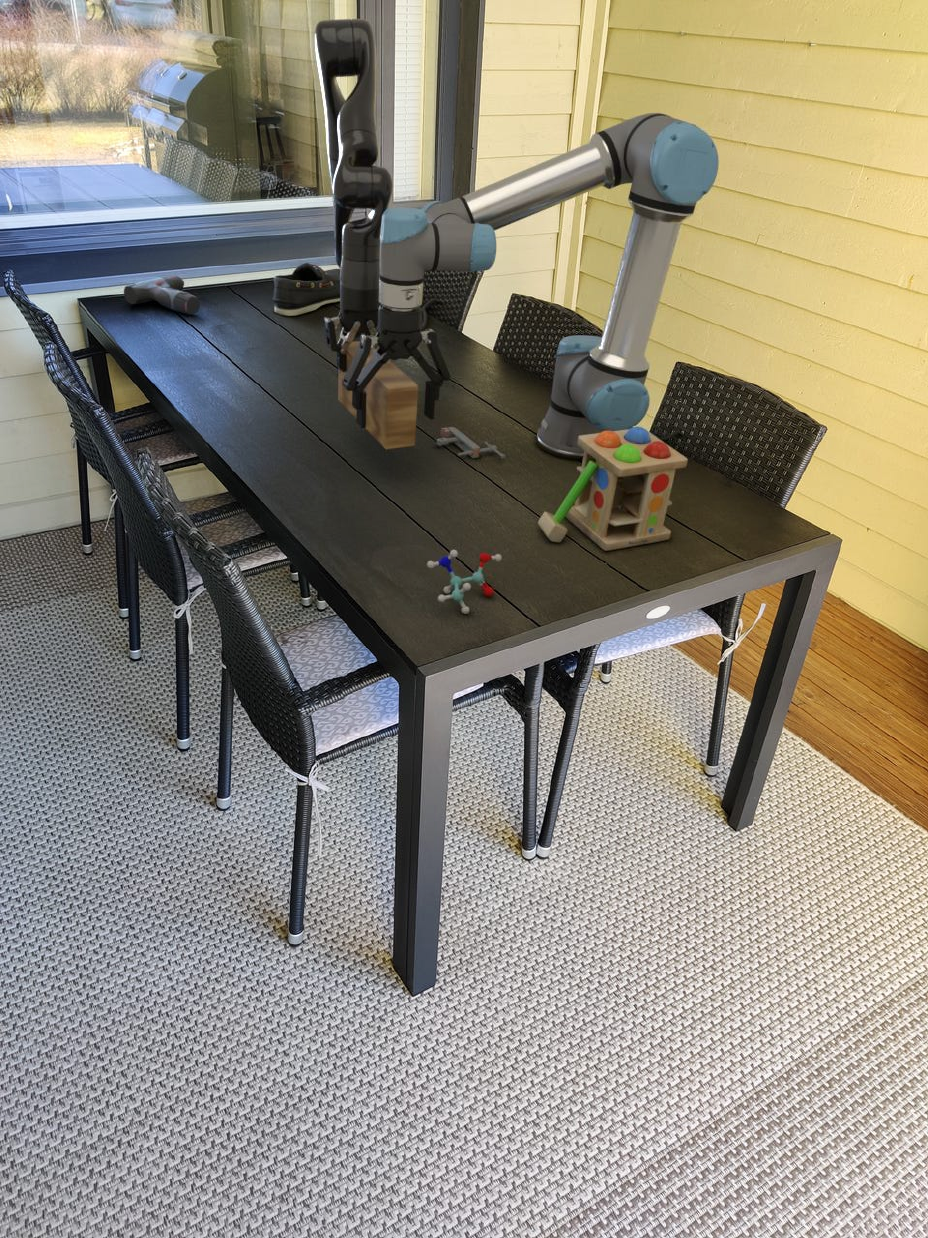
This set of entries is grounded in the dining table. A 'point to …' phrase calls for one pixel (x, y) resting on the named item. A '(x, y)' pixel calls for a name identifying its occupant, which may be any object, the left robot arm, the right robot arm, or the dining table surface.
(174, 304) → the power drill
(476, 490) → the dining table surface
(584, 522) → the pounding bench toy
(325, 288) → the boat shoe
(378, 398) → the box
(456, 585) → the molecular model
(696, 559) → the dining table surface
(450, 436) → the clamp
